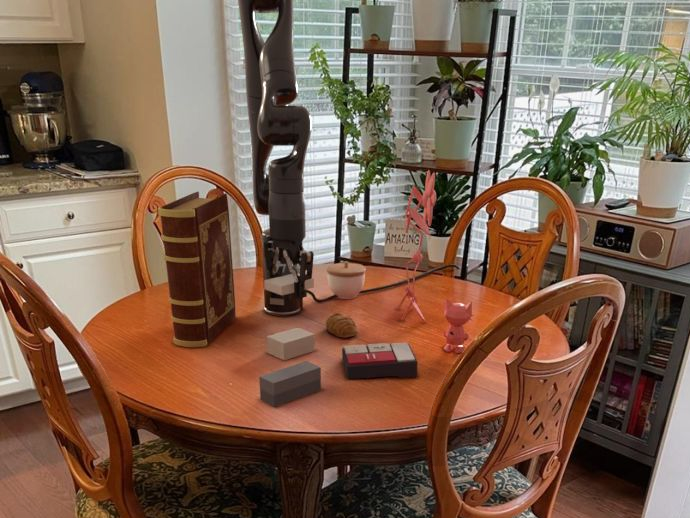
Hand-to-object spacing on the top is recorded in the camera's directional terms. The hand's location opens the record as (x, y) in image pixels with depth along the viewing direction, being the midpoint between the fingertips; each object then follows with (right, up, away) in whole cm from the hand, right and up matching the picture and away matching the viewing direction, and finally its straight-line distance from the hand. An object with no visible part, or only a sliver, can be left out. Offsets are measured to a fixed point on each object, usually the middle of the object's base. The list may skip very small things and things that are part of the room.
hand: (289, 294), depth 155 cm
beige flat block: (0, +1, -1) cm, 1 cm away
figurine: (+32, +3, +31) cm, 45 cm away
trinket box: (+11, +11, +45) cm, 47 cm away
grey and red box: (+19, -16, 0) cm, 25 cm away
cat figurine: (+37, -10, +10) cm, 40 cm away
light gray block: (0, -11, +7) cm, 13 cm away
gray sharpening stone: (+2, -23, -13) cm, 27 cm away
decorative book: (-22, -5, +17) cm, 28 cm away
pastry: (+11, -4, +19) cm, 23 cm away
